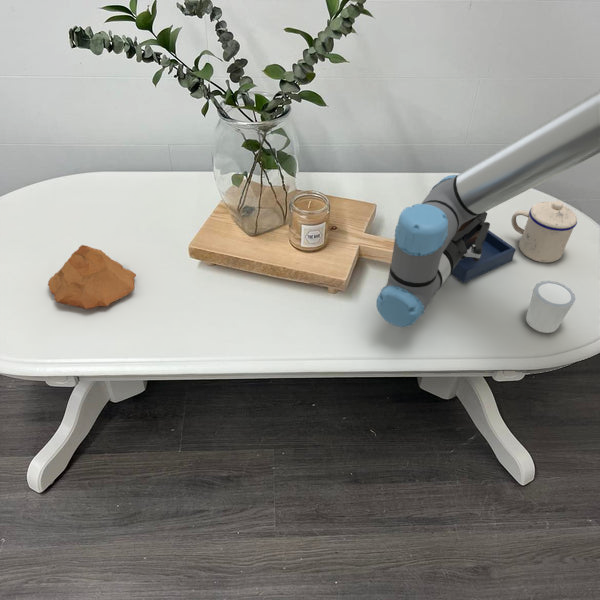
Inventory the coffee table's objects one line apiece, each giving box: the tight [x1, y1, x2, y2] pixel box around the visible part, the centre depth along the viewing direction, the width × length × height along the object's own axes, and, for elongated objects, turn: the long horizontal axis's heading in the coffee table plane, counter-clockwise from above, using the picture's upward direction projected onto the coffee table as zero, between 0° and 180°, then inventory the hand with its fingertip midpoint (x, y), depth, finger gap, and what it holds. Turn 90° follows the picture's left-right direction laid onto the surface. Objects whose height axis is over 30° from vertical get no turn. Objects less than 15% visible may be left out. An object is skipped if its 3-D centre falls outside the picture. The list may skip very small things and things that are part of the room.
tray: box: [451, 229, 517, 284], centre depth 118 cm, size 18×14×3 cm
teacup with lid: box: [511, 200, 578, 263], centre depth 116 cm, size 12×9×12 cm
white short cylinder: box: [525, 280, 576, 334], centre depth 101 cm, size 7×7×7 cm
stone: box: [47, 244, 137, 310], centre depth 106 cm, size 15×15×10 cm
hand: (477, 203), depth 117 cm, fingers closed on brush, 3 cm apart
